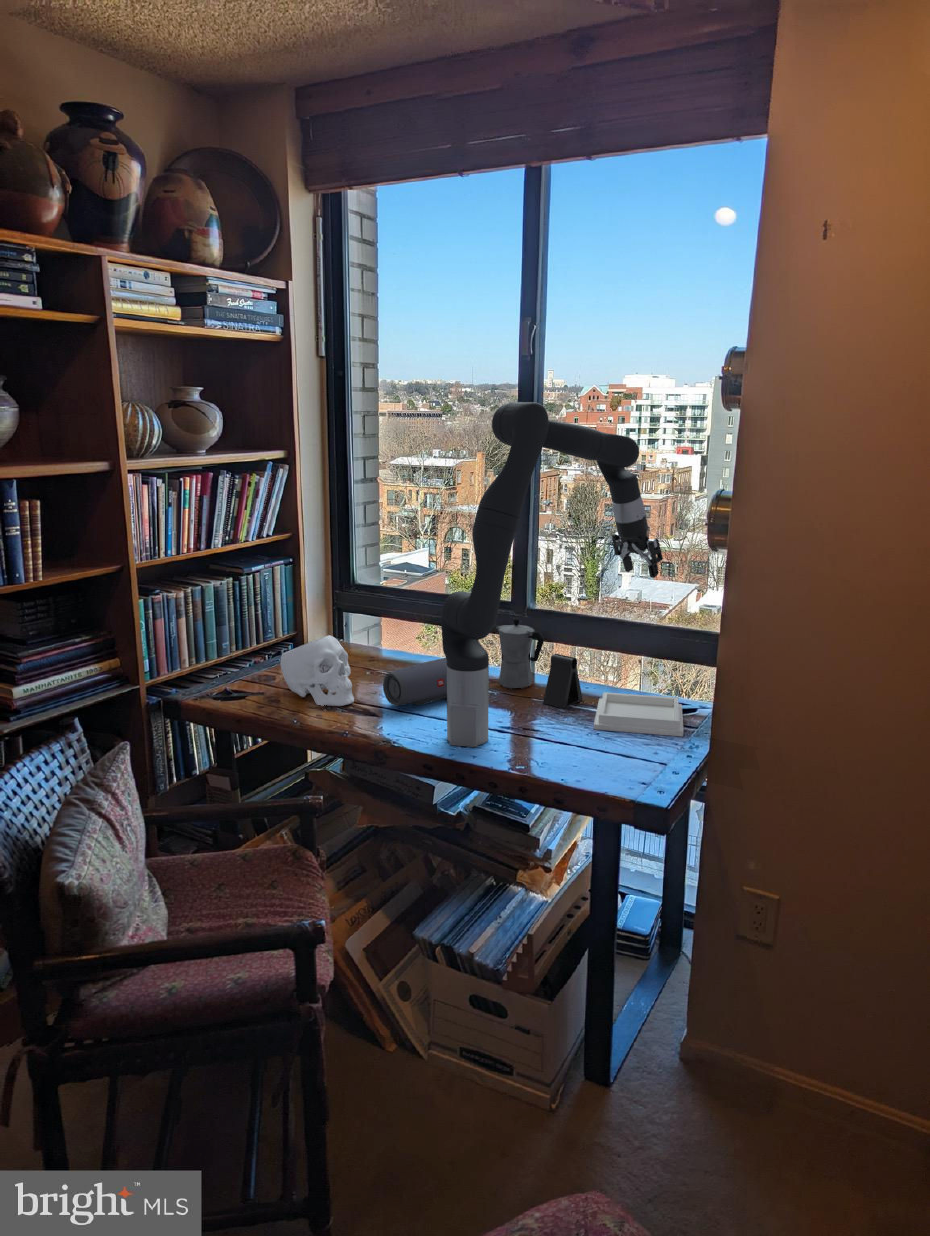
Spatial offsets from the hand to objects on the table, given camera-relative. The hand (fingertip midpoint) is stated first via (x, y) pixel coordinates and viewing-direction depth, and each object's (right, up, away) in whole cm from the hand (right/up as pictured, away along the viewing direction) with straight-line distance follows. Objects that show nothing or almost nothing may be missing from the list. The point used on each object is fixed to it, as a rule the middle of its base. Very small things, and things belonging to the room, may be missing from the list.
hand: (641, 573), depth 213 cm
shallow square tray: (-4, -35, -13) cm, 38 cm away
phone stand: (-20, -33, -2) cm, 38 cm away
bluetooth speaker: (-54, -32, 0) cm, 63 cm away
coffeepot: (-31, -29, +12) cm, 44 cm away
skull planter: (-82, -32, +2) cm, 88 cm away
